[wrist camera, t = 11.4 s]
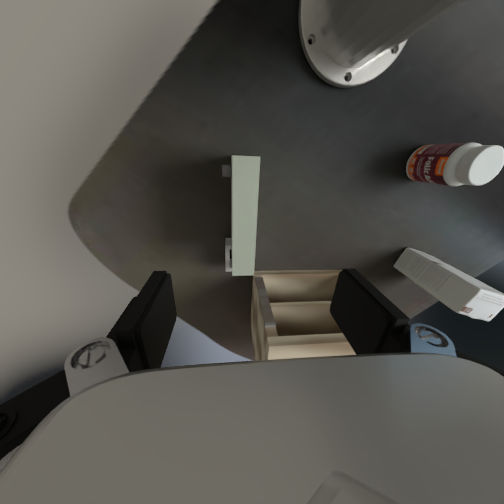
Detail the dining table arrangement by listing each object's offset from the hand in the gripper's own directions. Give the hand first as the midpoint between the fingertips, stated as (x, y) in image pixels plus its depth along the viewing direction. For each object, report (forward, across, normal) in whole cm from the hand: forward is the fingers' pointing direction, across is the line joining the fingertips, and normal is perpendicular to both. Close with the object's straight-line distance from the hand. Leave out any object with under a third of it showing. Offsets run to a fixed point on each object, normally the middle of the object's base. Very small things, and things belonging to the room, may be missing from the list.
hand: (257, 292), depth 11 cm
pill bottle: (+20, -26, -7) cm, 34 cm away
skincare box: (+20, -31, +9) cm, 38 cm away
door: (+20, 0, +1) cm, 20 cm away
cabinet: (+20, -9, +15) cm, 26 cm away
